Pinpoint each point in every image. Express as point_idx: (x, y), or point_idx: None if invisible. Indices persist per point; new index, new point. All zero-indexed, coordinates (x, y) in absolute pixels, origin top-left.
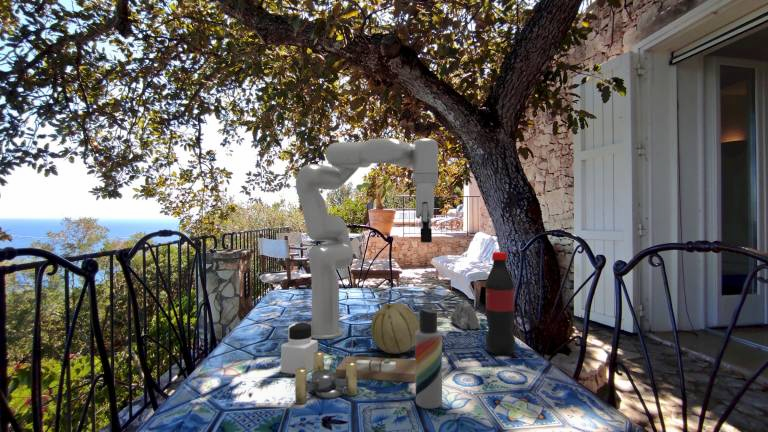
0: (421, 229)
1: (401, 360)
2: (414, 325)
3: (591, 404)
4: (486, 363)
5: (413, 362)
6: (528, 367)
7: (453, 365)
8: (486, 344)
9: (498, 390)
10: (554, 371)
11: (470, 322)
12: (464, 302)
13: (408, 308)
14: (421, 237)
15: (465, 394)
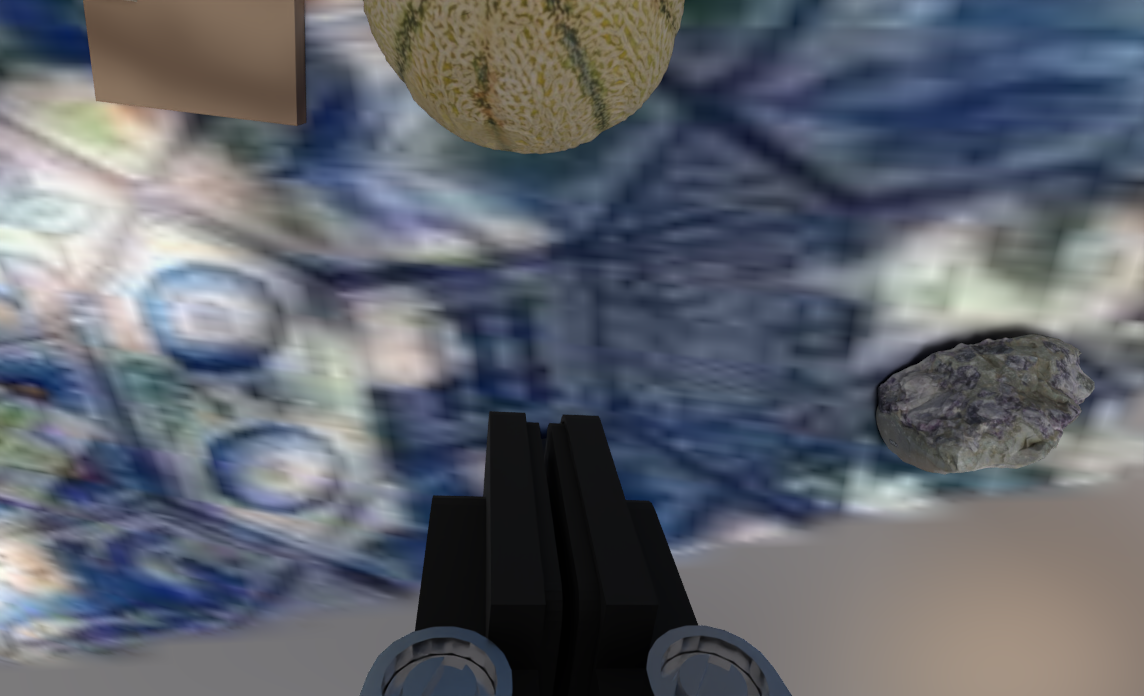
0: (493, 614)
1: (272, 32)
2: (437, 119)
3: (102, 623)
4: (406, 409)
5: (256, 97)
6: (383, 535)
7: (363, 281)
8: (543, 445)
9: (131, 408)
10: (356, 598)
11: (895, 423)
12: (1020, 450)
13: (504, 83)
14: (489, 471)
15: (55, 295)
